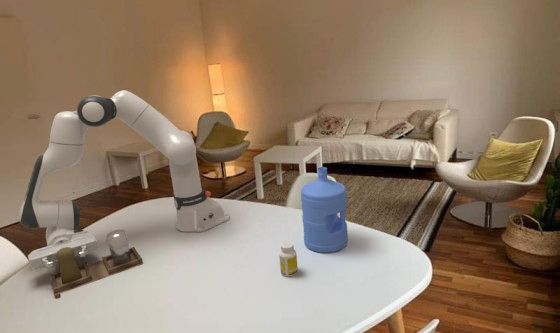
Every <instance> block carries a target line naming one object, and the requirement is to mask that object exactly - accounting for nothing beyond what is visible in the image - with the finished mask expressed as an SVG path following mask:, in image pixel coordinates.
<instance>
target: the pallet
mask: <svg viewBox="0 0 560 333" xmlns="http://www.w3.org/2000/svg"><path fill="white" fill-rule="evenodd" d="M129 250H130V254H131V259H132V261H130V262H127V263H124V264H122V265H119V266H114V265H113V261H112V256H111V254H109V255H105V256H102V257H101V259H102V260H98V261H95V262H93V263H89V264H88V263H87V262H84V263H81V264H80V263H79V264H77V266H78V268H79V270H80V272H81V274H82V278H81V279H78V280H75V281H72V282H69V283H67V284H62V279H61V271H60V270H59V271H56V272H54V273H50V279H51V280H50V281H51V284H52V285H51V286H52V290H53V293H54V297H55V299H59V298H61V297H62V295H61V294H63V293H66V292H68V291H72V290H74V289H77V288H80V287H83V286H86V285H89V284H91V283H94V282H96V281H100V280H103V279H105V278H108V277H112V276H114V275H116V274H120V273H123V272H126V271H129V270H131V269H134V268H136V267H140V266H143V265H144V262H143V258H142V257H141V255H140V254H139V252H138V251H137V250H136V248H135V246H133V247H129Z"/></svg>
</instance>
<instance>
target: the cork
mask: <svg viewBox="0 0 560 333" xmlns="http://www.w3.org/2000/svg"><path fill="white" fill-rule="evenodd" d="M56 258H57V260H58V262H59V268H60V269H59V271H61V279H62V284H67V283H69V282H72V281H75V280H78V279H81V278H82V274H81V272H80V270H79V268H78V266H77V265H78V263H77V262H76V259H75V256H74V250H73V249H72V248H71V247H65V248H62V249H60V250H58V251H57V253H56Z"/></svg>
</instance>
